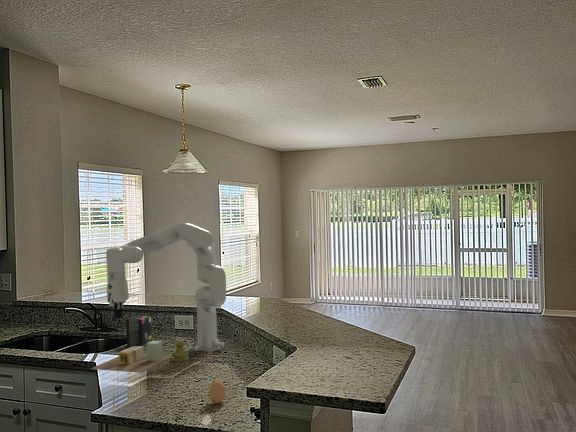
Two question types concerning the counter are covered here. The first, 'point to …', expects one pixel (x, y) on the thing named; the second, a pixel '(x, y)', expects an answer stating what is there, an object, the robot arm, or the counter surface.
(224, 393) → the egg
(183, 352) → the olive tiered piece
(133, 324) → the tampon box
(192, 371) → the counter surface
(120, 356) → the maple block
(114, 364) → the walnut board
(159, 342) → the sage block
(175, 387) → the counter surface
